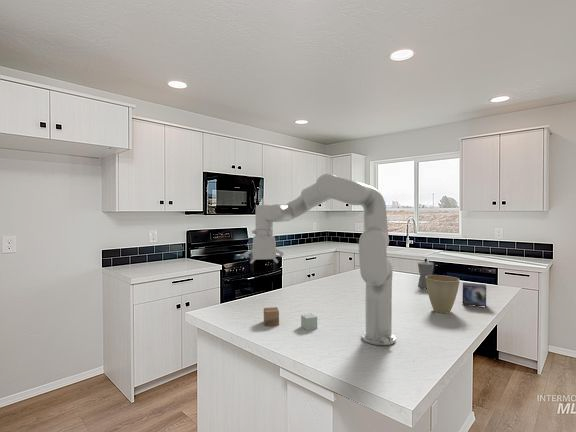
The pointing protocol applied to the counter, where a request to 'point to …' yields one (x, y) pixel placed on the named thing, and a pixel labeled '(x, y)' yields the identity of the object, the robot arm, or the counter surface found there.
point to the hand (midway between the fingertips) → (264, 271)
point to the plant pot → (442, 292)
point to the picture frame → (474, 294)
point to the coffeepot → (425, 272)
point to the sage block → (309, 321)
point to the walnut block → (271, 316)
